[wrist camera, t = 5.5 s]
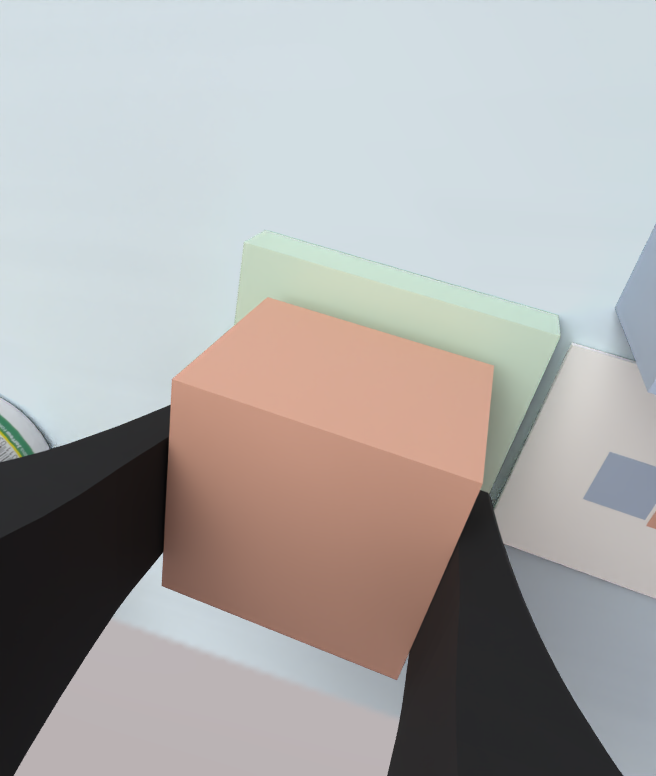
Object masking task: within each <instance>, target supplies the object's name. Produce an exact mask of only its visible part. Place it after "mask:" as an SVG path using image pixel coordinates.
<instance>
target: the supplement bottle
mask: <svg viewBox="0 0 656 776" xmlns="http://www.w3.org/2000/svg"><path fill="white" fill-rule="evenodd" d="M49 449H50V448H49V446H48V444H47V443H46V441H45V439H44V437H43V436H42V434H41V433H40V432H39V430H38V429H37V428H36V426H35V425H34V424H33V423H32V422H31V421H30V420H29V419H28V418H27V417H26V416H25V415H24V414H23V413H22V412H21V411H20V410H18V409H17V408H16V407H14V406H13V405H12V404H10V403H9V402H7V401H5V400H4V399H2V398H0V462H3V461H8V460H12V459H16V458H20V457H24V456H27V455H31V454H35V453H39V452H42V451H46V450H49Z"/></svg>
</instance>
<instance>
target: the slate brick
mask: <svg viewBox="0 0 656 776" xmlns="http://www.w3.org/2000/svg"><path fill="white" fill-rule="evenodd" d="M615 310H616V312H617V315H618V317H619V320H620V322H621V325H622V328H623V330H624V333H625V335H626V338H627V340H628V343H629V346H630V348H631V351H632V353H633V356H634V358H635V361H636V363H637V366H638V369H639V371H640V374H641V376H642V379H643V381H644V384H645V386H646V389H647V392H648V393H652V394H655V395H656V224H655V226H654V229H653V231H652V233H651V235H650V237H649V239H648V241H647V243H646V245H645V247H644V249H643V251H642V253H641V255H640V257H639V259H638V261H637V263H636V265H635V267H634V269H633V272H632V274H631V276H630V278H629V280H628V282H627V284H626V286H625V288H624V290H623V292H622V294H621V296H620V298H619V300H618V302H617V304H616V306H615Z"/></svg>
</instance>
